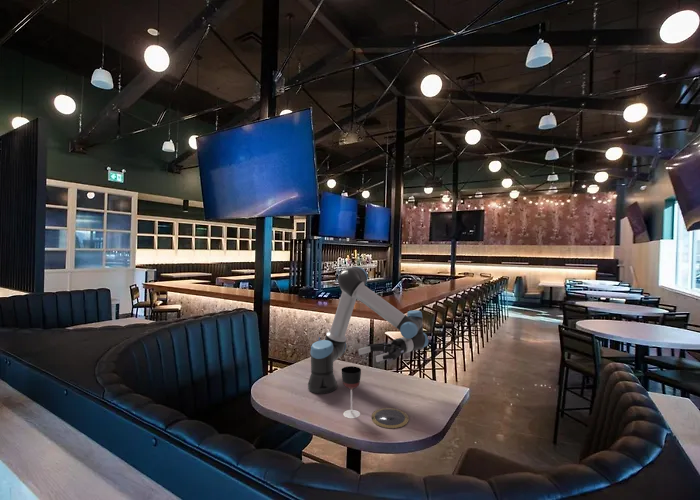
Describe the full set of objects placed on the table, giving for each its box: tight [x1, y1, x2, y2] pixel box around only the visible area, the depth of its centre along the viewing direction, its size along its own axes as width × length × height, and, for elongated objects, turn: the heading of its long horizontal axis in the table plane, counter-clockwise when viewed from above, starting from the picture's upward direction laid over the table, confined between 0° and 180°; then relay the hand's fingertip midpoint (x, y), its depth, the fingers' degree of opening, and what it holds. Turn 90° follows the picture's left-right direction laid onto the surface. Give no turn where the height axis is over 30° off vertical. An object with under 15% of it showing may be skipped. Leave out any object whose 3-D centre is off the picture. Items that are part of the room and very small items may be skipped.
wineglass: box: [341, 365, 362, 419], centre depth 153 cm, size 8×9×20 cm
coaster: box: [371, 407, 410, 429], centre depth 150 cm, size 16×16×1 cm
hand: (367, 355), depth 159 cm, fingers open, 13 cm apart
